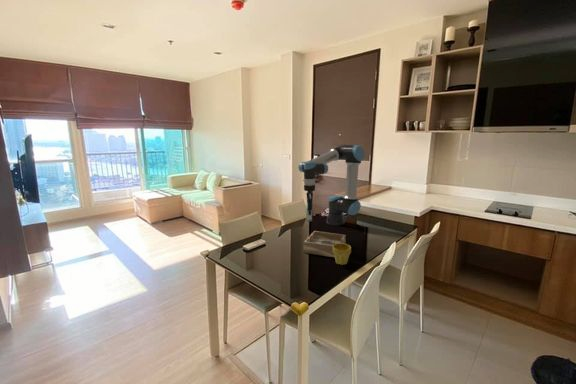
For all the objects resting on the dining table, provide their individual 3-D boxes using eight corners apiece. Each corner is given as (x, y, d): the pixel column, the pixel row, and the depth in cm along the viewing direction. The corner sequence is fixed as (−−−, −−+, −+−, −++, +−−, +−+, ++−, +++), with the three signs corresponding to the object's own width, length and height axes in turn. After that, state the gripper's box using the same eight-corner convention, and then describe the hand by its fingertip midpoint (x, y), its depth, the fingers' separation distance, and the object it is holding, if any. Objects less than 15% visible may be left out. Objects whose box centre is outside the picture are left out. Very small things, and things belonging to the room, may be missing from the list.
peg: (306, 219, 191) (306, 202, 188) (311, 219, 191) (312, 202, 188) (306, 221, 187) (306, 204, 184) (312, 221, 187) (312, 204, 184)
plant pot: (339, 268, 153) (340, 251, 151) (328, 260, 162) (329, 245, 160) (354, 264, 157) (354, 248, 155) (342, 257, 166) (343, 241, 164)
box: (314, 240, 193) (314, 230, 192) (345, 244, 185) (345, 234, 184) (303, 252, 173) (303, 241, 172) (338, 258, 165) (338, 247, 164)
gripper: (303, 182, 192) (303, 214, 197) (304, 186, 175) (304, 222, 180) (313, 182, 192) (313, 214, 197) (316, 186, 175) (316, 221, 180)
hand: (309, 218), depth 188 cm, fingers closed on peg, 4 cm apart
